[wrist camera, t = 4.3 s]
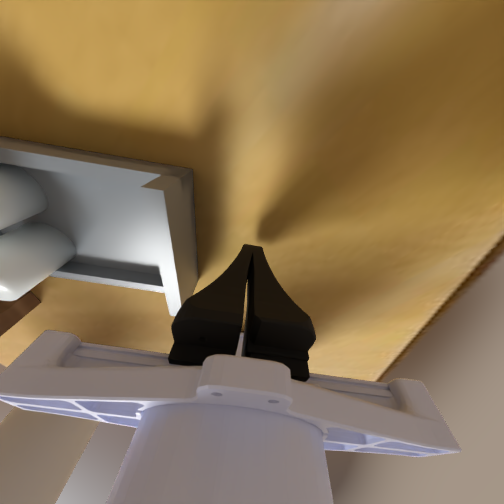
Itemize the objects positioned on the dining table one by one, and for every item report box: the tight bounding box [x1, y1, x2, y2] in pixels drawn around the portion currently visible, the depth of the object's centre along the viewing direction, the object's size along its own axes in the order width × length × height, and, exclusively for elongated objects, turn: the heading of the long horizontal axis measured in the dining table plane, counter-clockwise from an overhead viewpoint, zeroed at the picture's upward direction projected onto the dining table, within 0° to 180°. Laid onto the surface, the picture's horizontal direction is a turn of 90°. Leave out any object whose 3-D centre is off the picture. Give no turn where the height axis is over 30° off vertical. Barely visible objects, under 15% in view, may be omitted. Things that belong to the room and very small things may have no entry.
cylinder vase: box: [0, 406, 100, 504], centre depth 26 cm, size 12×12×25 cm
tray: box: [0, 136, 198, 316], centre depth 12 cm, size 16×10×5 cm, turn 82°
